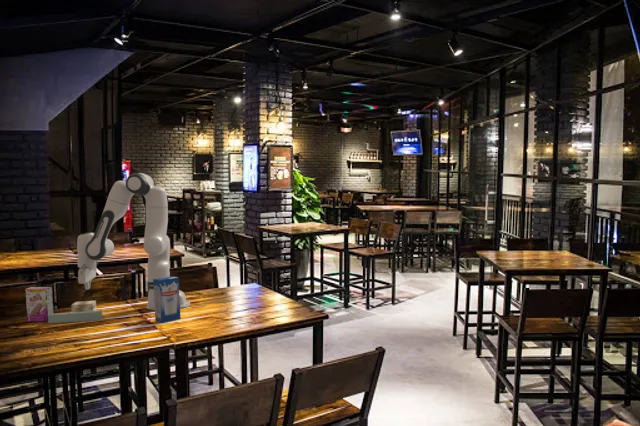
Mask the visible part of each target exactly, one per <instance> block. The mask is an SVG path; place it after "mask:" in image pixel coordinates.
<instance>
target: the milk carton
mask: <svg viewBox="0 0 640 426" xmlns="http://www.w3.org/2000/svg"><path fill="white" fill-rule="evenodd" d="M179 281H180V280H179V277H178V276H173V275H171V276H170V277H164V278H158V279H153V283H154V302H155V310H154V319H155V322H158V323H161V324H163V323H169V322H172V321H177V320H181V319H182V318H181V316H182V315H181V308H180V296H179V290H180V282H179Z"/></svg>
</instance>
